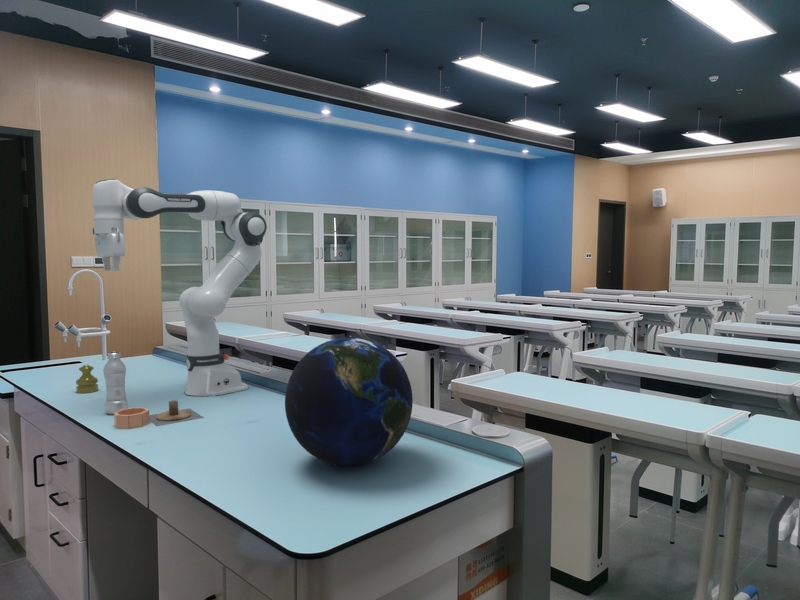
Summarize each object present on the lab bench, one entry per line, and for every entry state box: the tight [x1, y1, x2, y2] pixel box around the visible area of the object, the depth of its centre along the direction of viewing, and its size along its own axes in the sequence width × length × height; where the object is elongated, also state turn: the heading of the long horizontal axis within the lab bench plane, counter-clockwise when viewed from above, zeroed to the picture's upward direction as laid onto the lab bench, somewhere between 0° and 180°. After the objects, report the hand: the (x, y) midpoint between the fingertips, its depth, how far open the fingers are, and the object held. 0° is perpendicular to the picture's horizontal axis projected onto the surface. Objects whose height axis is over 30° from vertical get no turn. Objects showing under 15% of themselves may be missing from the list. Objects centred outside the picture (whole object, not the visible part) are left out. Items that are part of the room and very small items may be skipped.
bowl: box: [113, 407, 151, 430], centre depth 170 cm, size 9×9×4 cm
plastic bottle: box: [102, 351, 129, 416], centre depth 182 cm, size 6×7×20 cm
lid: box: [156, 400, 191, 421], centre depth 177 cm, size 10×10×5 cm
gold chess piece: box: [75, 364, 99, 394], centre depth 216 cm, size 7×7×10 cm
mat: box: [149, 408, 205, 427], centre depth 177 cm, size 14×14×1 cm
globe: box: [284, 336, 413, 467], centre depth 136 cm, size 30×30×30 cm
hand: (111, 270), depth 190 cm, fingers open, 8 cm apart
